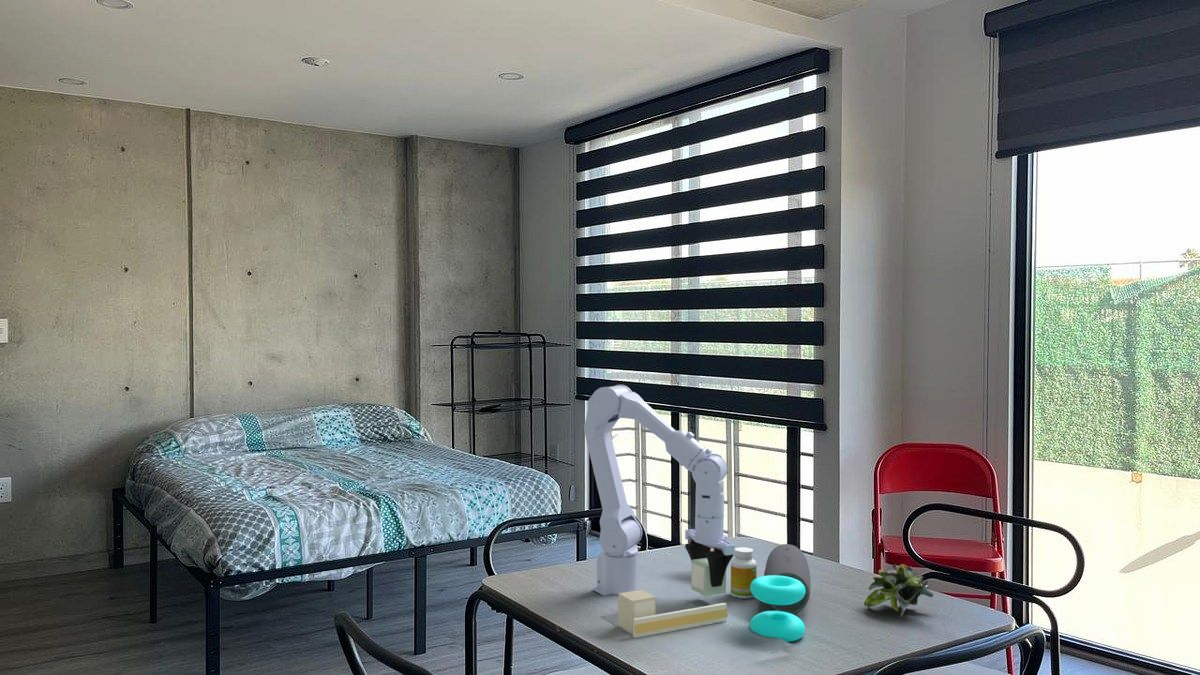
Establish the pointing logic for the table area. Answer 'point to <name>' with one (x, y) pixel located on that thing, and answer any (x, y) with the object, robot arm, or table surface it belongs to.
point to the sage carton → (704, 579)
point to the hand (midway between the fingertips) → (708, 582)
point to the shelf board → (674, 618)
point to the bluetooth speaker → (789, 572)
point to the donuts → (778, 593)
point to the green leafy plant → (897, 588)
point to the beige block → (634, 607)
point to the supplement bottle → (742, 573)
